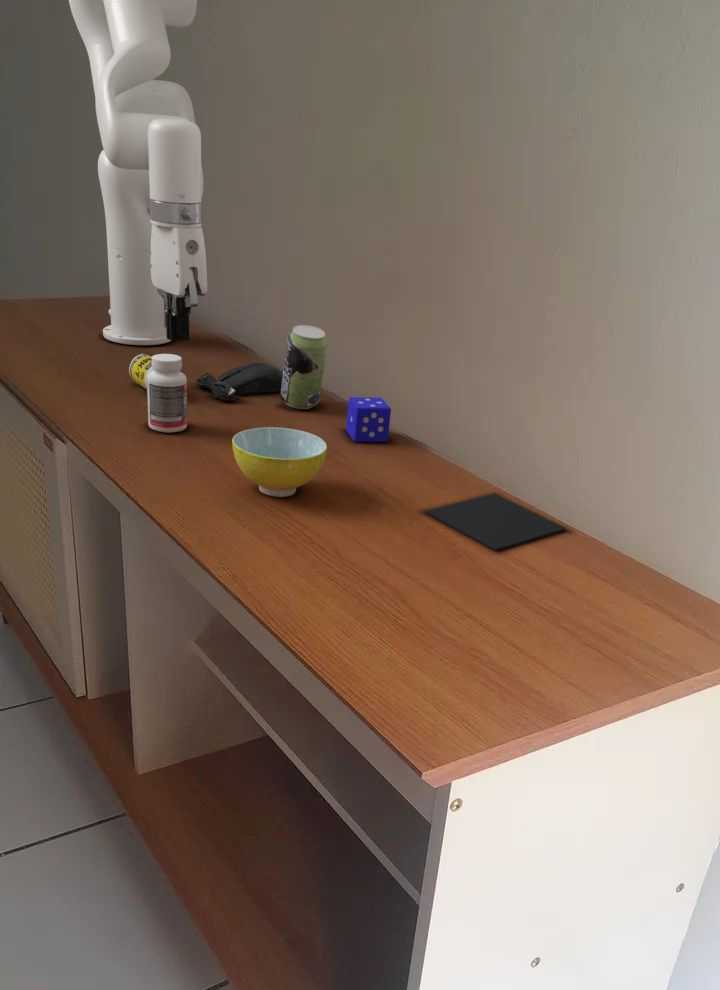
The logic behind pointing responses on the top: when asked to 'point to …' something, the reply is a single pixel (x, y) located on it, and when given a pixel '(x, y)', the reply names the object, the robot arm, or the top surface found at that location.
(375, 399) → the die
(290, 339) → the beverage can
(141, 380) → the supplement bottle
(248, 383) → the computer mouse
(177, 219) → the robot arm
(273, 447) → the bowl
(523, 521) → the mat
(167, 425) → the pill bottle
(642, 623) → the top surface
